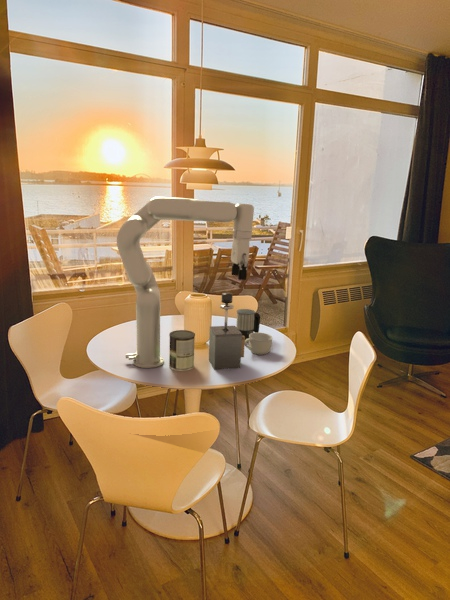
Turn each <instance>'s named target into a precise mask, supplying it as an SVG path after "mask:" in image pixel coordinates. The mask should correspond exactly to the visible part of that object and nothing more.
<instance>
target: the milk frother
mask: <svg viewBox="0 0 450 600" xmlns="http://www.w3.org/2000/svg"><path fill="white" fill-rule="evenodd" d="M260 323H261V315H260V314H259V312H256V311H255V310H253V309H249V308H241V309H237V310H236V327H237V329H238V330H239V331H240V332H241V333H242V335H244V336H245V340H246V339H248V338H249V334H251V333H256V332H257V333H258V332H259V333H260ZM247 344H249V341H248V342H247Z"/></svg>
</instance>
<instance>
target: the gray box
mask: <svg viewBox="0 0 450 600" xmlns="http://www.w3.org/2000/svg"><path fill="white" fill-rule="evenodd" d="M208 340H209V341H208V342H209V343H208V361H209V363H210V365H211V367H212V368H213V370H214V371H216V370H217V371H219V370H236V369H237V370H238V369H241V361H242V360H241V359H242V358H245V336H244V335H242V333H241V332H240V331H239V330H238V329H237V325H227V331H224V325H215V326H214V325H213V326H209V339H208Z"/></svg>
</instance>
